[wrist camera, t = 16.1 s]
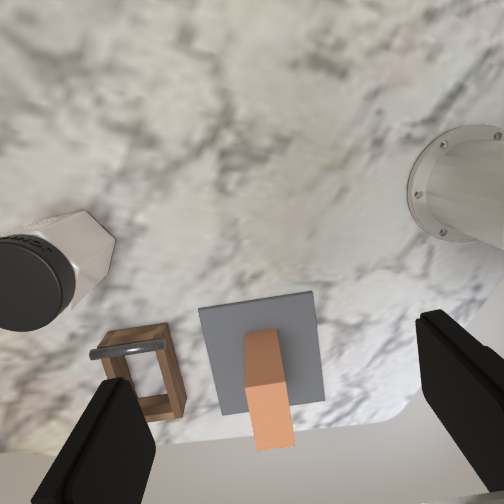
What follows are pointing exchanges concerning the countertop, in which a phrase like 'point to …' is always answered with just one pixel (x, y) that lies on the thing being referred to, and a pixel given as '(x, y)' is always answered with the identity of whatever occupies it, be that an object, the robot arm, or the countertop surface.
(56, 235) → the jar
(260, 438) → the orange block
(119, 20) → the countertop surface
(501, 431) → the robot arm
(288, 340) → the mat
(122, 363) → the dispenser
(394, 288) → the countertop surface
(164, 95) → the countertop surface
